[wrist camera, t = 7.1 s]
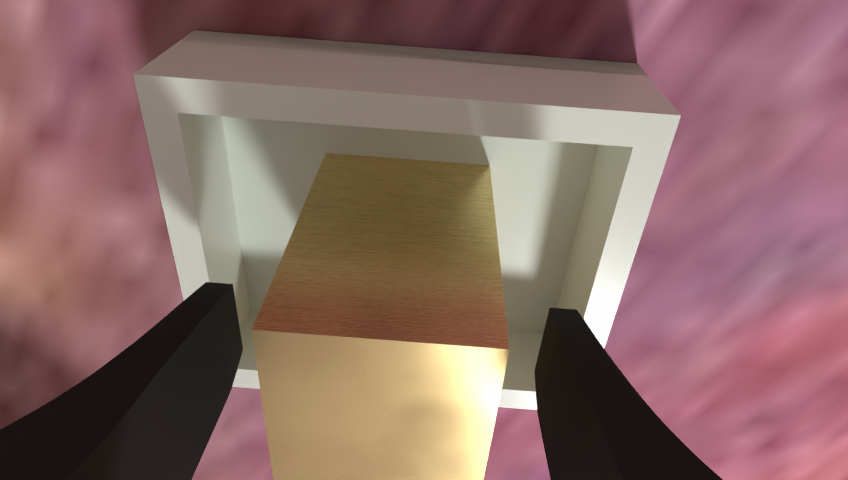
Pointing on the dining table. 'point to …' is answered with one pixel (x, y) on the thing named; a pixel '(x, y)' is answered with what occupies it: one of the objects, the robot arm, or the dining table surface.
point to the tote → (407, 139)
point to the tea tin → (385, 325)
